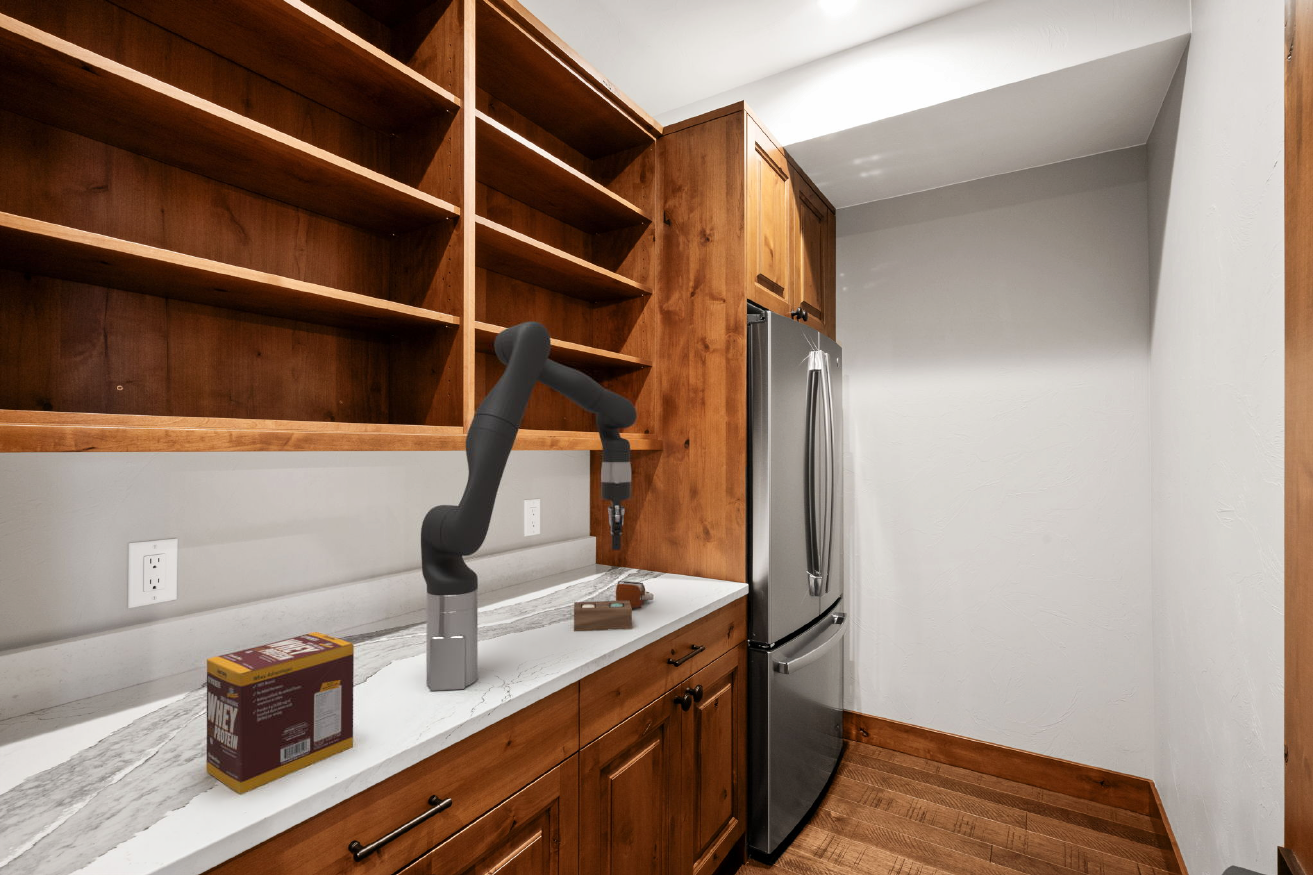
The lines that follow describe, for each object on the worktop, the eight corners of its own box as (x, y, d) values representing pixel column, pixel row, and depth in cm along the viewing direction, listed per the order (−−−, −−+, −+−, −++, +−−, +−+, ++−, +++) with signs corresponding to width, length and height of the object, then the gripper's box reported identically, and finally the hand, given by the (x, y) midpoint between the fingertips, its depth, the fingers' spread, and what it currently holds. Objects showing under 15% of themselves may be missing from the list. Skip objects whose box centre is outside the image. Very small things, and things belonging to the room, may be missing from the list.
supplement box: (203, 772, 84) (204, 657, 84) (317, 729, 97) (318, 630, 97) (238, 796, 78) (239, 673, 78) (354, 747, 91) (355, 641, 91)
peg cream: (594, 627, 151) (594, 607, 151) (582, 628, 151) (582, 607, 151) (594, 624, 154) (594, 604, 154) (582, 624, 154) (582, 604, 154)
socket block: (631, 629, 150) (631, 608, 150) (573, 631, 148) (573, 610, 148) (629, 619, 158) (629, 600, 158) (574, 621, 156) (574, 602, 156)
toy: (659, 581, 180) (642, 583, 166) (658, 605, 179) (640, 609, 165) (630, 579, 183) (610, 581, 169) (629, 603, 182) (609, 606, 168)
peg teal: (623, 626, 152) (622, 606, 152) (610, 626, 152) (610, 606, 152) (622, 623, 155) (622, 603, 155) (610, 623, 155) (610, 603, 155)
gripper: (600, 479, 160) (600, 545, 160) (602, 481, 147) (601, 554, 146) (629, 478, 161) (629, 545, 160) (633, 481, 148) (633, 553, 147)
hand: (616, 549), depth 153 cm, fingers closed
